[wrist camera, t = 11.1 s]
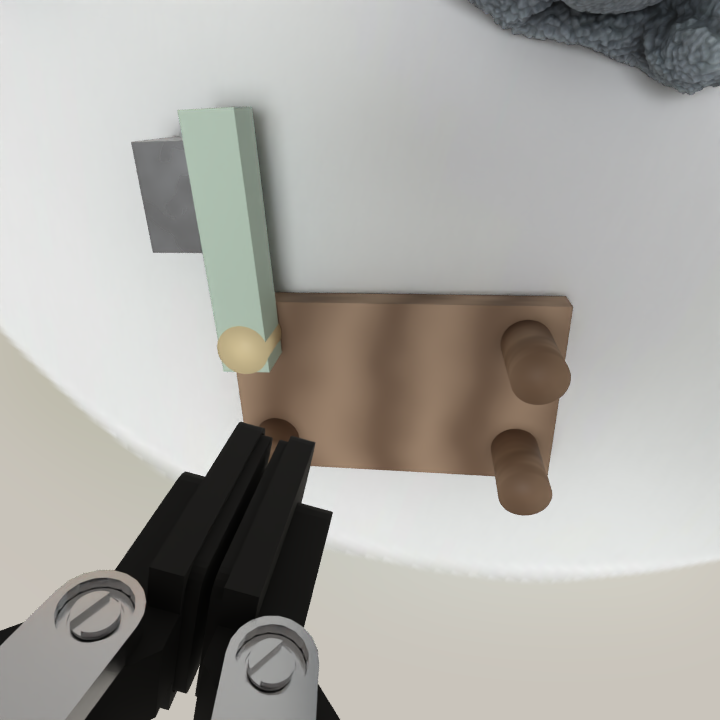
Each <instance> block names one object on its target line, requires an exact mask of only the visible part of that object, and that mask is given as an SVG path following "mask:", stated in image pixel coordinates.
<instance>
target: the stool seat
mask: <svg viewBox="0 0 720 720" xmlns="http://www.w3.org/2000/svg"><path fill="white" fill-rule="evenodd" d="M275 300H276V308H277V317H278V323H279V325H280V328H281V340H280V341H281V349H282V353H281V355H280V356H279V358H278V359H277V361H276V363H275V364H274V366H273V367H272V369H271V371H270V372H255V373H252V374H241V373H237V379H238V386H239V393H240V400H241V407H242V414H243V421H244V423H247V424H251V425H255V426H258V427H262V428H265V436H269V437H272V438H273V441H272V446H271V451H270V456H269V461H270V459H271V457H272V454H273V452H274V450H275V448H276V446H277V444H278V442H279V440H284V441H287V442H288V441H289V439H290V437H291V436H295V437H298V438H302V439H306V440H309V441H313V442H316V443H315V448H314V453H313V457H312V461H311V465H310V466H321V467H339V468H357V469H375V470H393V471H411V472H429V473H447V474H465V475H482V476H495V479H496V485H497V491H498V498H499V501H500V503H501V505H502V506H503V507H504V508H505V509H506V510H507V511H509V512H511V513H513V514H517V515H533V514H536V513H538V512H540V511H542V510H544V509H545V508H546V507H547V506H548V505H549V503H550V501H551V499H552V490H551V486H550V483H549V480H548V477H547V475H548V469H549V462H550V455H551V449H552V442H553V436H554V429H555V423H556V416H557V409H558V403H559V398H560V397H561V396H562V395H563V394H564V393H565V392H566V391H567V389H568V387H569V385H570V381H571V374H570V370H569V368H568V366H567V364H566V362H565V357H566V350H567V344H568V337H569V330H570V324H571V317H572V311H573V306H572V305H571V303H570V302H569V300H568V299H567V297H566V296H509V295H435V294H361V293H287V292H275ZM268 463H269V462H268Z"/></svg>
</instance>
